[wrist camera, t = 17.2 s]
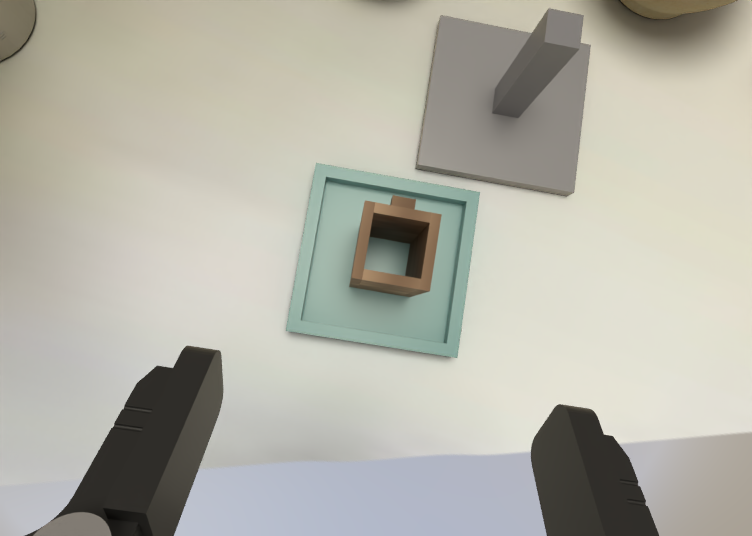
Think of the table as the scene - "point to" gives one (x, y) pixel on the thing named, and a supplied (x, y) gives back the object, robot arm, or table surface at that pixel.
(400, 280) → the collar
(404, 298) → the tray
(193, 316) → the table surface
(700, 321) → the table surface
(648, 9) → the planter bowl
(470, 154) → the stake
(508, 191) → the table surface
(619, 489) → the robot arm
